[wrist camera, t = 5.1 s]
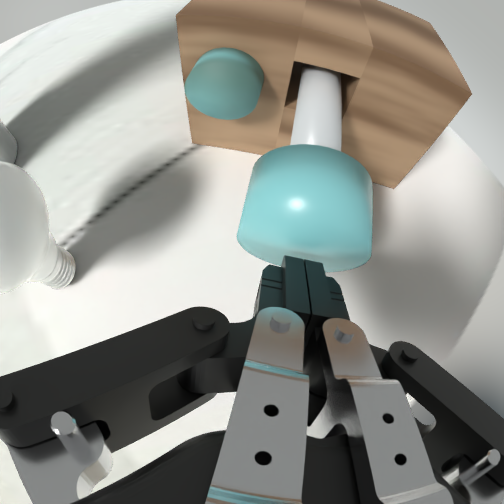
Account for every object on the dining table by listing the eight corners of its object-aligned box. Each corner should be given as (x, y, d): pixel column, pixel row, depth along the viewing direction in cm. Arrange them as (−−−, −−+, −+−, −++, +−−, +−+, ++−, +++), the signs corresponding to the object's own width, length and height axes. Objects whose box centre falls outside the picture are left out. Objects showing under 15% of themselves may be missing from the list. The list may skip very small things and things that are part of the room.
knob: (343, 279, 14) (396, 239, 9) (235, 257, 14) (238, 203, 9) (348, 84, 19) (369, 31, 14) (280, 67, 19) (290, 10, 14)
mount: (394, 208, 20) (481, 115, 10) (185, 161, 20) (161, 29, 10) (384, 107, 24) (429, 22, 14) (225, 70, 24) (227, -30, 14)
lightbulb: (25, 253, 17) (-73, 182, 7) (90, 214, 19) (7, 111, 8) (43, 332, 16) (-81, 298, 5) (115, 295, 17) (1, 224, 7)
